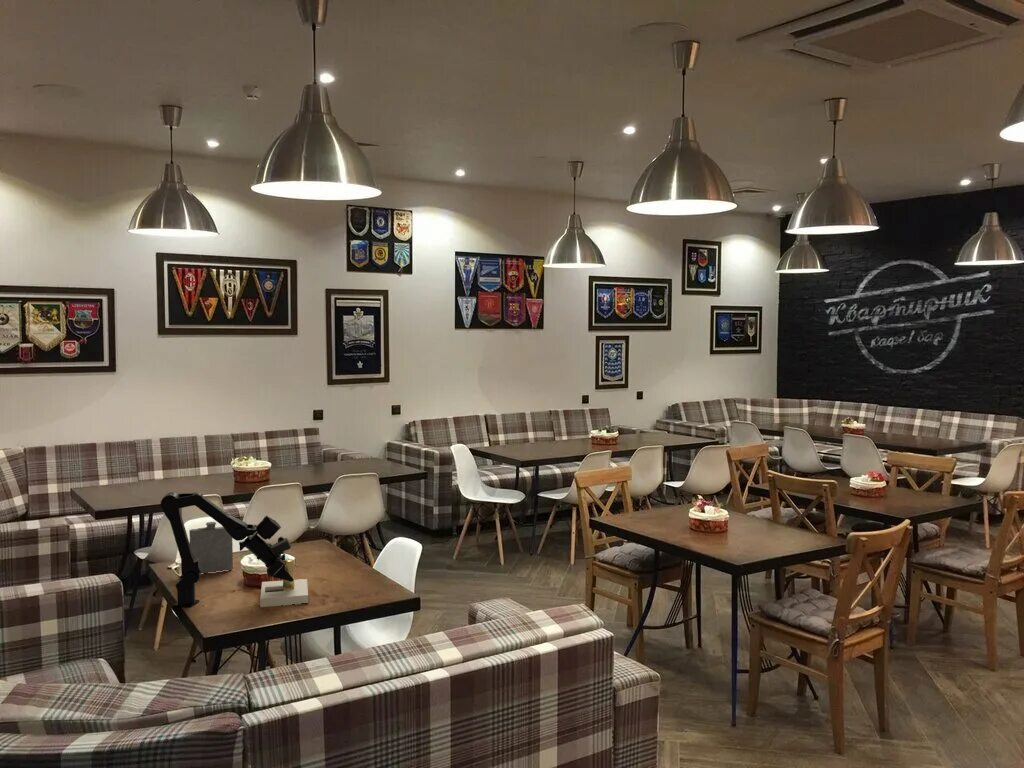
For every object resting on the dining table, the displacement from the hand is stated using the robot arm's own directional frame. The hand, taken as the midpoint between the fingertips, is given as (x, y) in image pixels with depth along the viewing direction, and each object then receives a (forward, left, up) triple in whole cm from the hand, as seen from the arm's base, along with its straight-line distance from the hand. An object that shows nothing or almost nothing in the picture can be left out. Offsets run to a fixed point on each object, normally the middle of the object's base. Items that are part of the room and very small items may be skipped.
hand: (292, 577), depth 298 cm
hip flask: (+24, +43, -7) cm, 50 cm away
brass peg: (-1, +1, -7) cm, 7 cm away
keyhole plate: (-2, +4, -7) cm, 8 cm away
